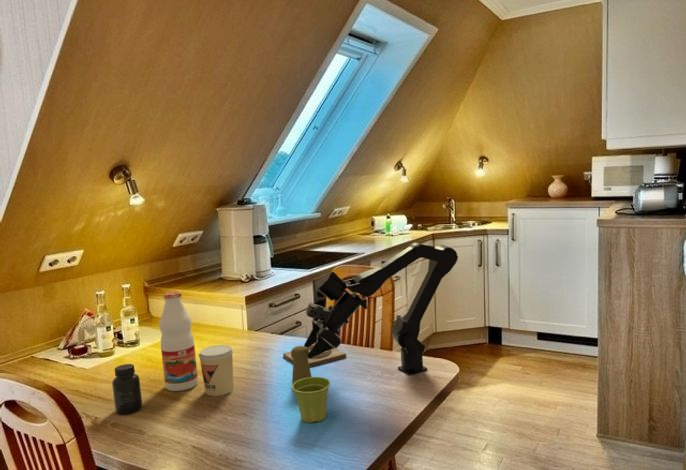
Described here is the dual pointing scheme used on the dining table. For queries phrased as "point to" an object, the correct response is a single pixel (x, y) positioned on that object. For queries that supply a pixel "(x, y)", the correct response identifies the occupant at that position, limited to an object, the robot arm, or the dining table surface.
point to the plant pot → (312, 397)
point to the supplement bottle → (126, 390)
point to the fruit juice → (177, 345)
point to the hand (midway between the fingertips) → (306, 352)
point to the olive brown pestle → (300, 363)
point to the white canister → (217, 369)
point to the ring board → (320, 356)
